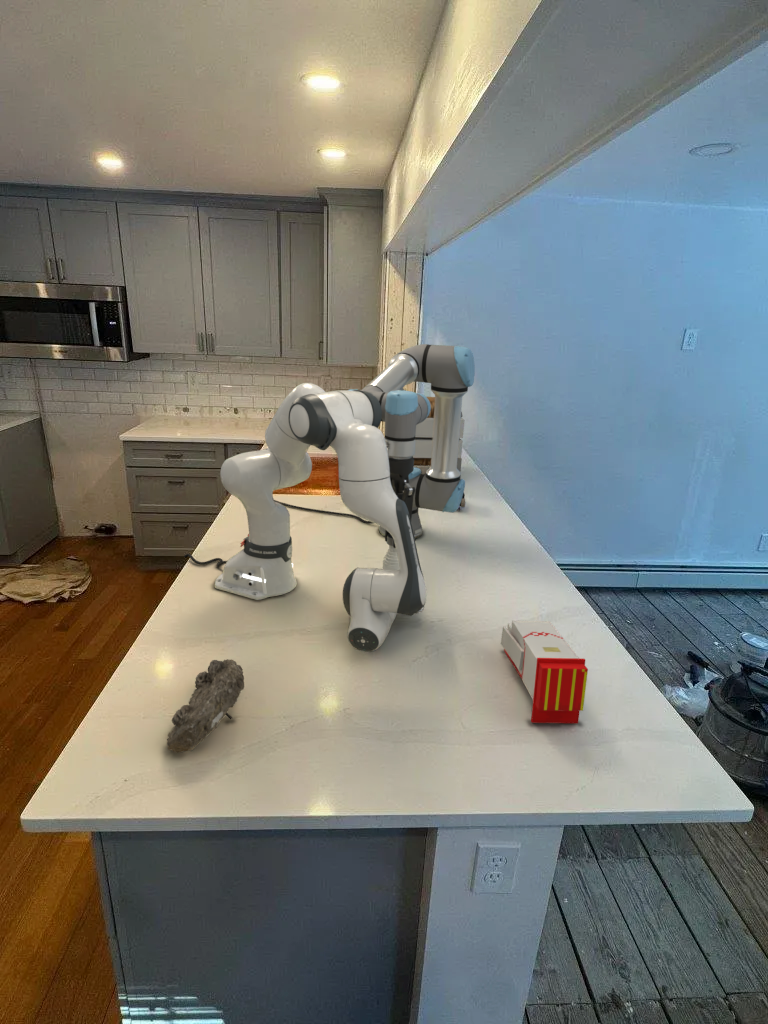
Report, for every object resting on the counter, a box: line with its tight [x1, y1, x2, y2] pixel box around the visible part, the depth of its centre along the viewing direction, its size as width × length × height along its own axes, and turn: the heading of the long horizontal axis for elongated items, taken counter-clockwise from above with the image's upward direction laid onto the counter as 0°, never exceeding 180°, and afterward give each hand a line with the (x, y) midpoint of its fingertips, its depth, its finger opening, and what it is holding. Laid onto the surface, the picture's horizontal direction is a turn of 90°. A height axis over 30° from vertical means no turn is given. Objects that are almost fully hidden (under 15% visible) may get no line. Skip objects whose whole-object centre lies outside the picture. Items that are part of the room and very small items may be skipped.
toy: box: [500, 620, 589, 724], centre depth 121 cm, size 12×13×30 cm
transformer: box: [401, 387, 465, 474], centre depth 268 cm, size 34×33×41 cm
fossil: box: [166, 658, 245, 754], centre depth 106 cm, size 22×10×15 cm
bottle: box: [382, 545, 400, 570], centre depth 149 cm, size 5×5×19 cm
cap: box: [386, 534, 394, 546], centre depth 146 cm, size 4×4×2 cm
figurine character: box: [457, 492, 466, 511], centre depth 229 cm, size 7×8×15 cm
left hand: (392, 582), depth 151 cm, fingers closed on bottle, 5 cm apart
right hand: (394, 543), depth 147 cm, fingers closed on cap, 4 cm apart
